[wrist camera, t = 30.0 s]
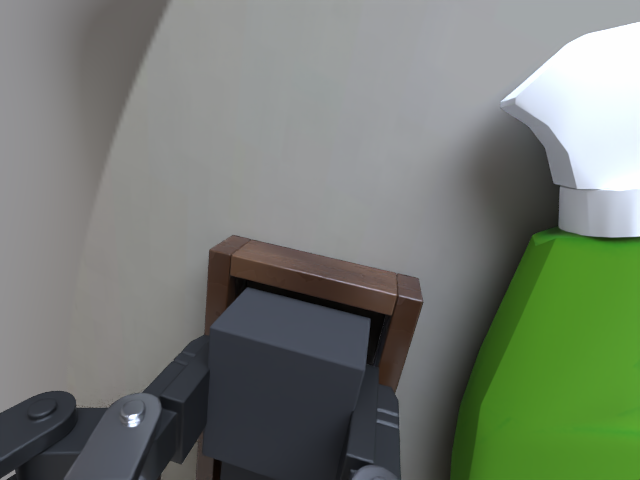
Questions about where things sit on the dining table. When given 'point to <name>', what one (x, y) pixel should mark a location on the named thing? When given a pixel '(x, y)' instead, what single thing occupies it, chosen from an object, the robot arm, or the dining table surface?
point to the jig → (319, 281)
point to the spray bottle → (569, 287)
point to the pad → (283, 385)
